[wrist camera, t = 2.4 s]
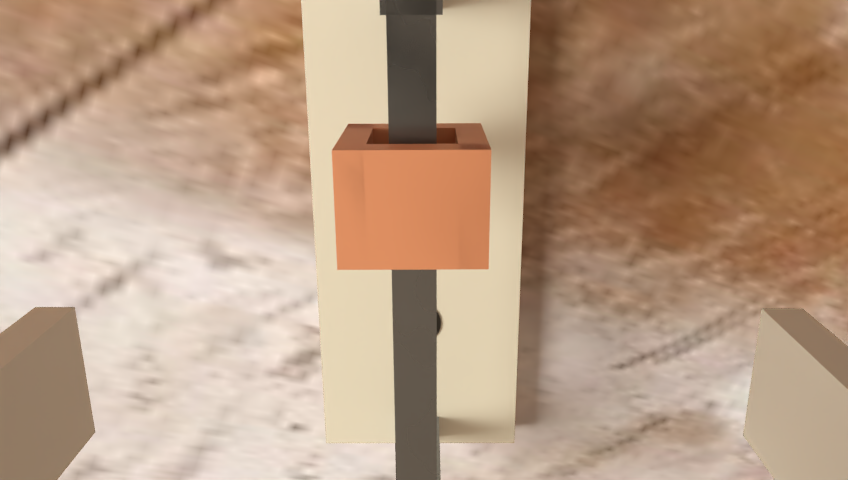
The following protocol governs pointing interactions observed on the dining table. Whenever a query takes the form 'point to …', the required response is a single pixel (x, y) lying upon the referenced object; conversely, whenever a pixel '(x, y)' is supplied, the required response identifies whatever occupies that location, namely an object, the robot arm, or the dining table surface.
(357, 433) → the hole board
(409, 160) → the slider sleeve
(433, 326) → the grey slider rail frame
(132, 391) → the dining table surface
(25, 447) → the robot arm
